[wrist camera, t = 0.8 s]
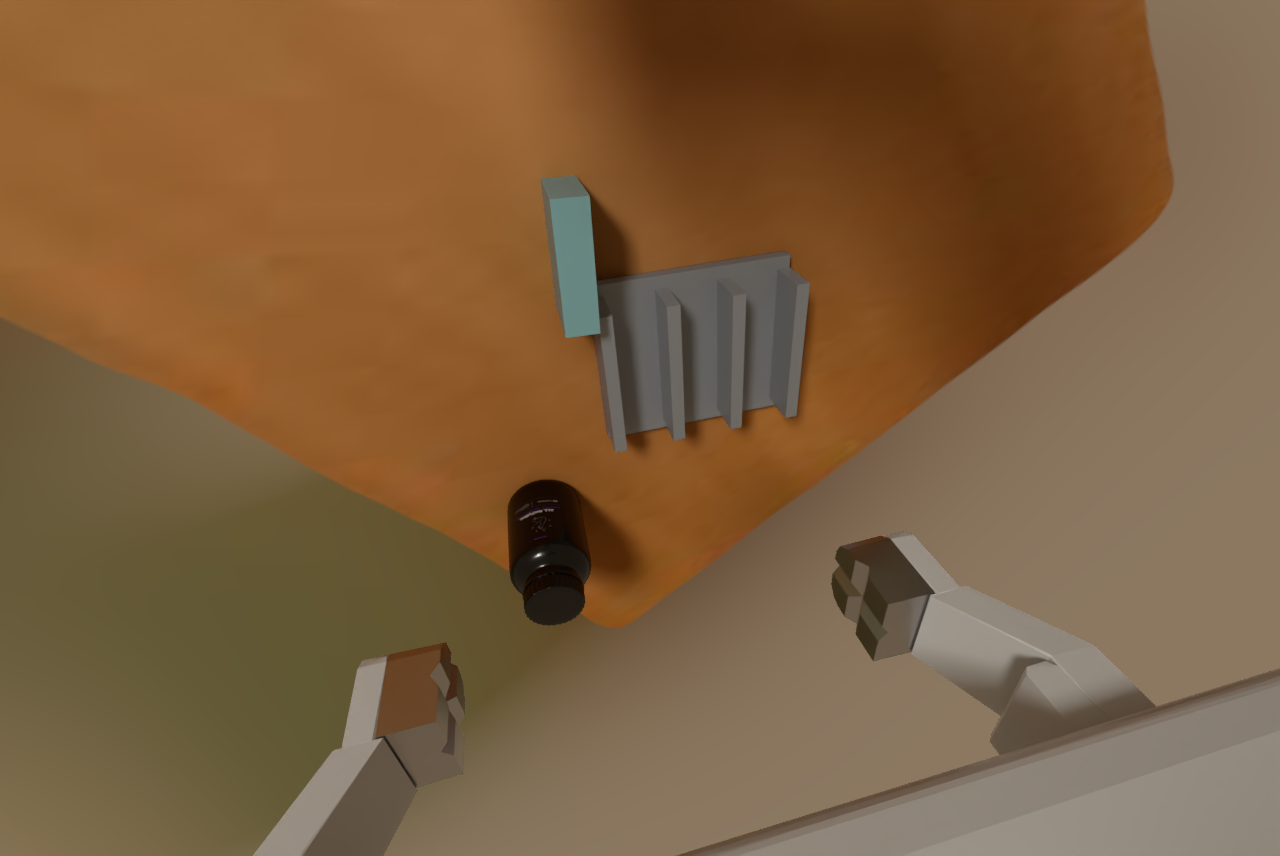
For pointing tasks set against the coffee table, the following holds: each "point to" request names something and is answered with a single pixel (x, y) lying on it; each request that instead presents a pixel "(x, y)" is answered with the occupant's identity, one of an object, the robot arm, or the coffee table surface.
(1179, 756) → the robot arm
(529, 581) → the supplement bottle
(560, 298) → the teal upright panel
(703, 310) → the rack
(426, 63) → the coffee table surface
